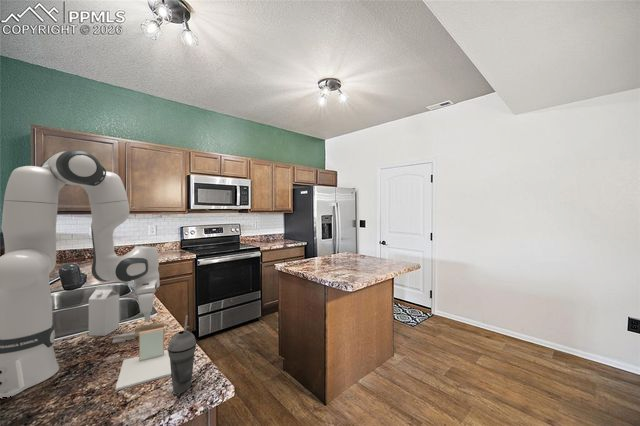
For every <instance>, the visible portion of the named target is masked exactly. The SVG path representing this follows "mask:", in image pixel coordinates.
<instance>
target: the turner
mask: <svg viewBox="0 0 640 426" xmlns="http://www.w3.org/2000/svg"><path fill="white" fill-rule="evenodd" d="M163 327H164V328H165V322H160V323H153V324H148V325H147V324H146V325H143V326H137V327H135V329H134V331H133V332H128V333H122V334H119V335H118V334H117V335H114V337H113V339H112V342H111V344H116V343H120V342H121V343H122V342H127V341H132V340H135V339H136V338H137V336H138V337H139V333H140V332H142V331H147V330H153V329H158V328H163ZM131 339H132V340H131ZM126 340H127V341H126Z"/></svg>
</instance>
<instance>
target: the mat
mask: <svg viewBox="0 0 640 426" xmlns="http://www.w3.org/2000/svg"><path fill="white" fill-rule="evenodd" d="M169 376H170V377H171V365H170V358H169V354H168V349H164V355H163V356H159V357H155V358H151V359H146V360H142V361H139V356H138V355H137V356H134V357H130V358H126V359H123V361H122V365H121V367H120V372H119V374H118V378H117V381H116V385H115V390H114V391H120V390H123V389H127V388H130V387H135V386H137V385H141V384H145V383H148V382H152V381H156V380H158V379H163V378H167V377H169Z"/></svg>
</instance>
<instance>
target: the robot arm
mask: <svg viewBox="0 0 640 426" xmlns="http://www.w3.org/2000/svg"><path fill="white" fill-rule="evenodd" d="M65 186H80V187H82V188H83V190H84V191H85V192H86V194H87V195H88V201H89V206H90V213H91V225H90V228H91V229H90V230H91V242H92V249H93V259H92V260H93V261H92V265H91V274H92V276H93V278H94V279H95V280H97V281H99V282H104V283H106V282H116V283H127V282H128V283H129V282H132V281H133V290H134V291H135V295H137V300H138V301H137V302H138V306H139V307H138V309H139V313H140V314H143V317H144V322H145V323H146V322H150V321H151V314H152V311H153V305H154V301H155V293H156V291H157V290H158V288H159V287H160V284H161V283H160V272H159V266H160V262H159V261H160V259H159V253H158V249H157V247H156V246H154V245H143V244H140V245H139V244H137V245H136V246H134V248H133V249H132V250H130V251H129V252H127V253H125V254H123V255H121V256H120V255H117V254H116V252H115V244H114V243H115V242H114V232H115V230H116V229H117V228H118V227H119V226H120V225H122V224H124V222H126V221H127V219H128V218H129V216H130V204H129V199H128V194H127V192H126V189H125V186H124V182H123V180H122V179H121V177H120V175H118V174H117V173H116V172H112V171H107V170H106V168H104V166H103V165H102V164H101V162H100V161H99V160H98V159H97V157H95V156H94V155H93V154H92V153H90V152H88V151H85V150H80V149H79V150H78V149H72V150H71V149H70V150H65V151H59V152H57V153H55V154H53V155H51V156H49V157H48V158H46V159H45V160H44V161H43V163H41V164H40V165H39V166H35V165H25V166H24V165H23V166H19V167H16V168H15V169H13V171H12V172H11V173H10V175H9V177H8V181H7V184H6V188H5V191H4V197H3V206H2V207H3V208H2V216H1V224H0V225H1V227H0V228H1V232H2V234H3V243H4V254H2V255H1V256H0V398H1V399H3V398H2V397H7V398H10V396H11V397H13V396H16V395H17V394H19V393H21V392H23V391H25V390H26V389H28V388H29V389H30V388H31V387H34V386H36V385H38V384H40V383H42V382H44V381H47V380H48V379H49V378H51V377H53V376H54V375H56V373H58V372H59V370H60V366H59V363H58V361H57V358H56V353H55V350H54V349H55V348H54V343H55V341H56V340H55V337H56V331H55V325H54V324H53V298H52V293H51V285H50V274H51V273H52V271H54V269H55V267H56V265H57V262H56V261H57V222H58V221H57V217H58V209H59V194H60V192H61V189H62V188H63V187H65Z"/></svg>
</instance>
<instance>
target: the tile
mask: <svg viewBox="0 0 640 426" xmlns="http://www.w3.org/2000/svg"><path fill="white" fill-rule="evenodd" d="M138 345H139V346H138V355H139V361H142V360H146V359H151V358H155V357H159V356H163V355H164V350H165V326H164V327H163V328H158V329H153V330H147V331H142V332H140V333H139V336H138Z"/></svg>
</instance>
